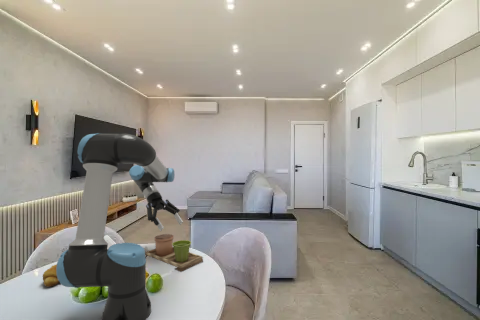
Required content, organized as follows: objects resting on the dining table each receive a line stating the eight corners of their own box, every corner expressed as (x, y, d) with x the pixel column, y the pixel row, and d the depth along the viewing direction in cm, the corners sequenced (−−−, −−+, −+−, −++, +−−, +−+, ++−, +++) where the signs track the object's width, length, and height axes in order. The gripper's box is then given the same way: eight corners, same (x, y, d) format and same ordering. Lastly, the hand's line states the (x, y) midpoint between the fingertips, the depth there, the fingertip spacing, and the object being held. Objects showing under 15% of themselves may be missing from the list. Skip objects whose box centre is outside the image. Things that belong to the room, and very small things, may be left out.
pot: (177, 252, 138) (177, 236, 138) (162, 258, 130) (161, 241, 130) (166, 248, 144) (166, 233, 144) (150, 254, 136) (150, 237, 136)
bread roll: (54, 289, 102) (54, 269, 102) (32, 288, 103) (32, 269, 103) (77, 274, 115) (77, 257, 115) (57, 274, 116) (57, 256, 116)
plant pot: (170, 258, 130) (170, 241, 130) (188, 255, 134) (188, 239, 134) (174, 265, 122) (174, 247, 122) (193, 261, 126) (193, 244, 126)
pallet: (202, 261, 129) (202, 256, 129) (180, 271, 118) (180, 266, 118) (166, 249, 147) (166, 244, 147) (144, 256, 136) (144, 252, 136)
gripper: (166, 197, 151) (185, 225, 144) (129, 203, 130) (149, 237, 122) (172, 188, 149) (192, 217, 141) (136, 194, 127) (156, 227, 120)
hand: (172, 226), depth 132 cm, fingers open, 13 cm apart
